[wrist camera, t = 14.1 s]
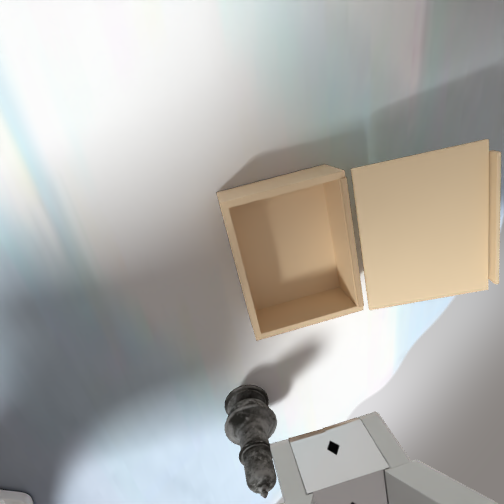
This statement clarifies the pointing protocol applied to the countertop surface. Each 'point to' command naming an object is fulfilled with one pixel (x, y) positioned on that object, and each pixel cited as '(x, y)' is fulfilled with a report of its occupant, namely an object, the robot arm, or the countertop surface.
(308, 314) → the mailer box
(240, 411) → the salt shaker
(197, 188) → the countertop surface
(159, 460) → the countertop surface
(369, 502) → the robot arm
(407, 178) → the lid
